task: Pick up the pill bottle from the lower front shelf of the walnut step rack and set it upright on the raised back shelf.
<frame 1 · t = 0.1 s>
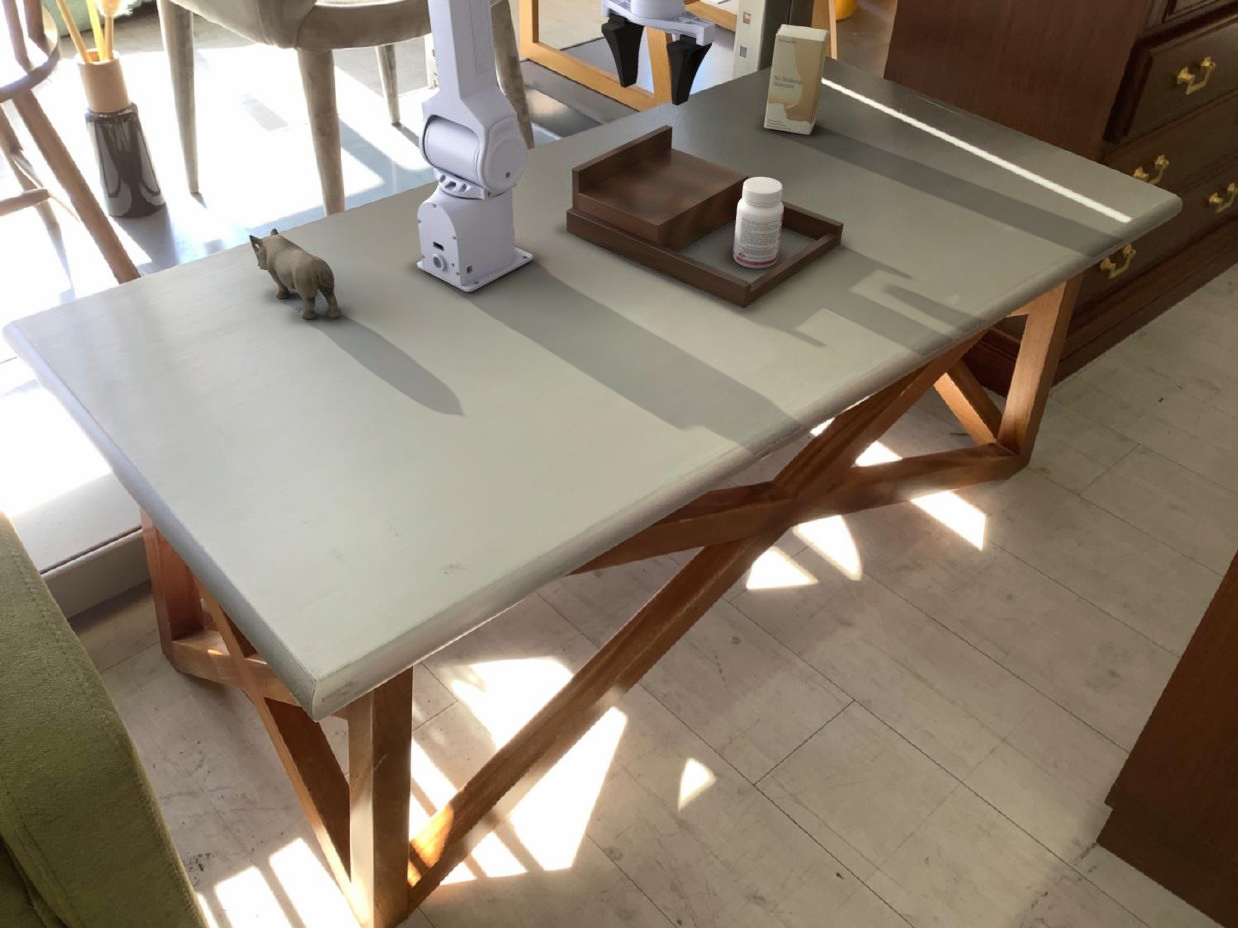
hand: (653, 93, 126), 10 cm above the table, tool pointing down, fingers open, 7 cm apart
pill bottle: (754, 260, 118), resting in step rack
rhino figurine: (295, 295, 111), on the table
step rack: (702, 237, 121), on the table
cosmetic box: (790, 128, 145), on the table
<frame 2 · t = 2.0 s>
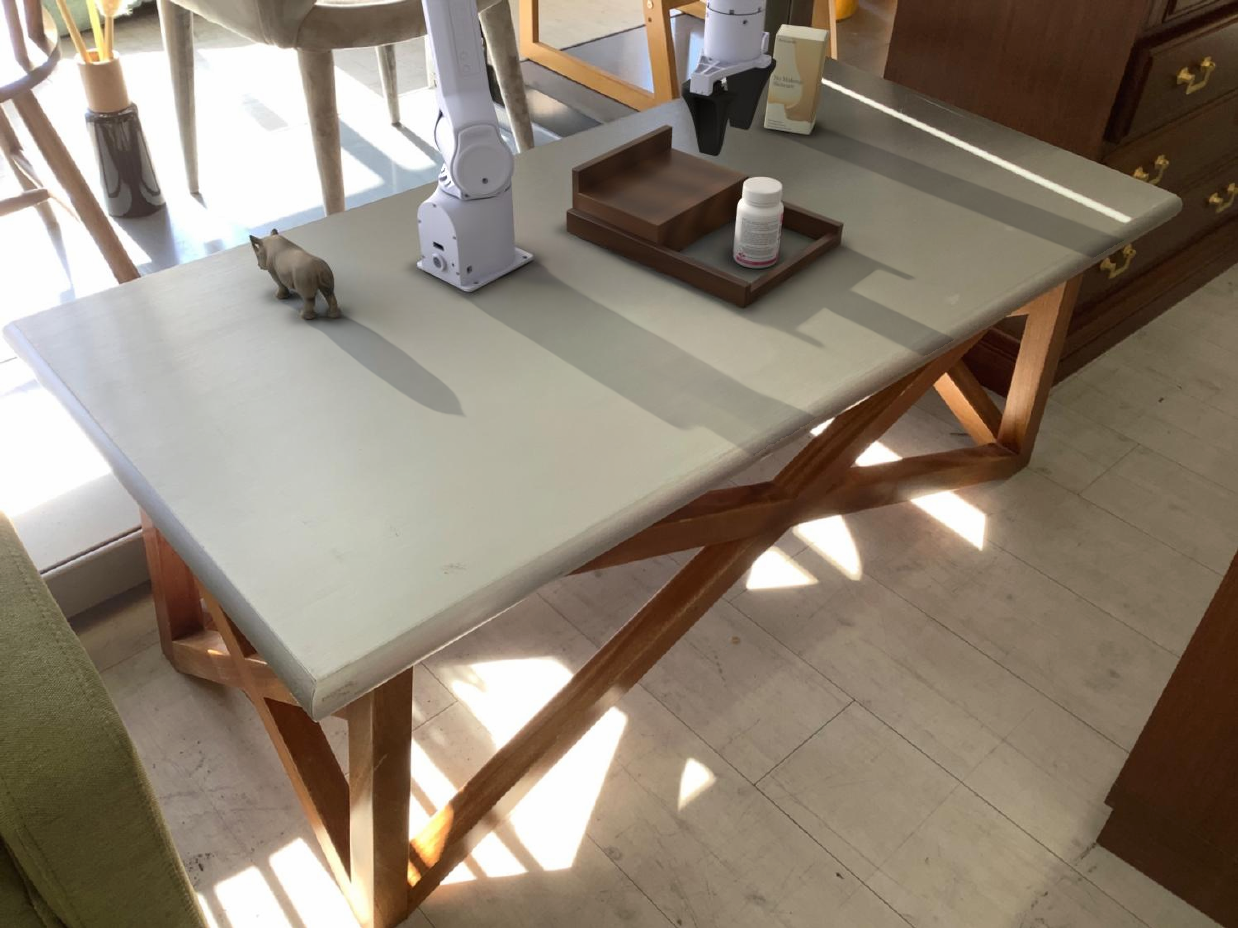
hand: (724, 140, 116), 10 cm above the table, tool pointing down, fingers open, 7 cm apart
nothing on the table moved.
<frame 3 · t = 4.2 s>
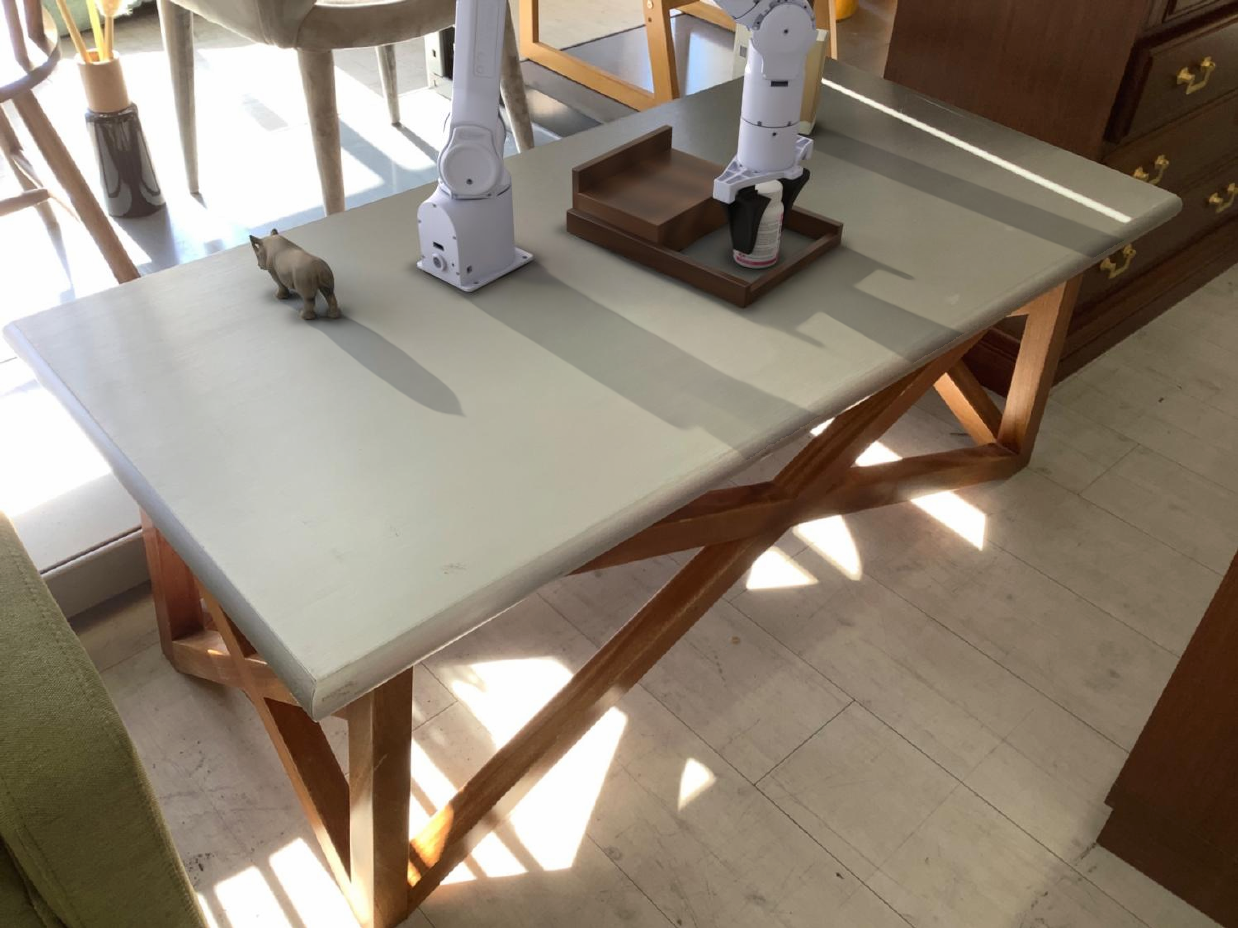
hand: (756, 242, 116), 2 cm above the table, tool pointing down, fingers closed on pill bottle, 5 cm apart
pill bottle: (754, 260, 118), resting in step rack, touching gripper
everything else where it was.
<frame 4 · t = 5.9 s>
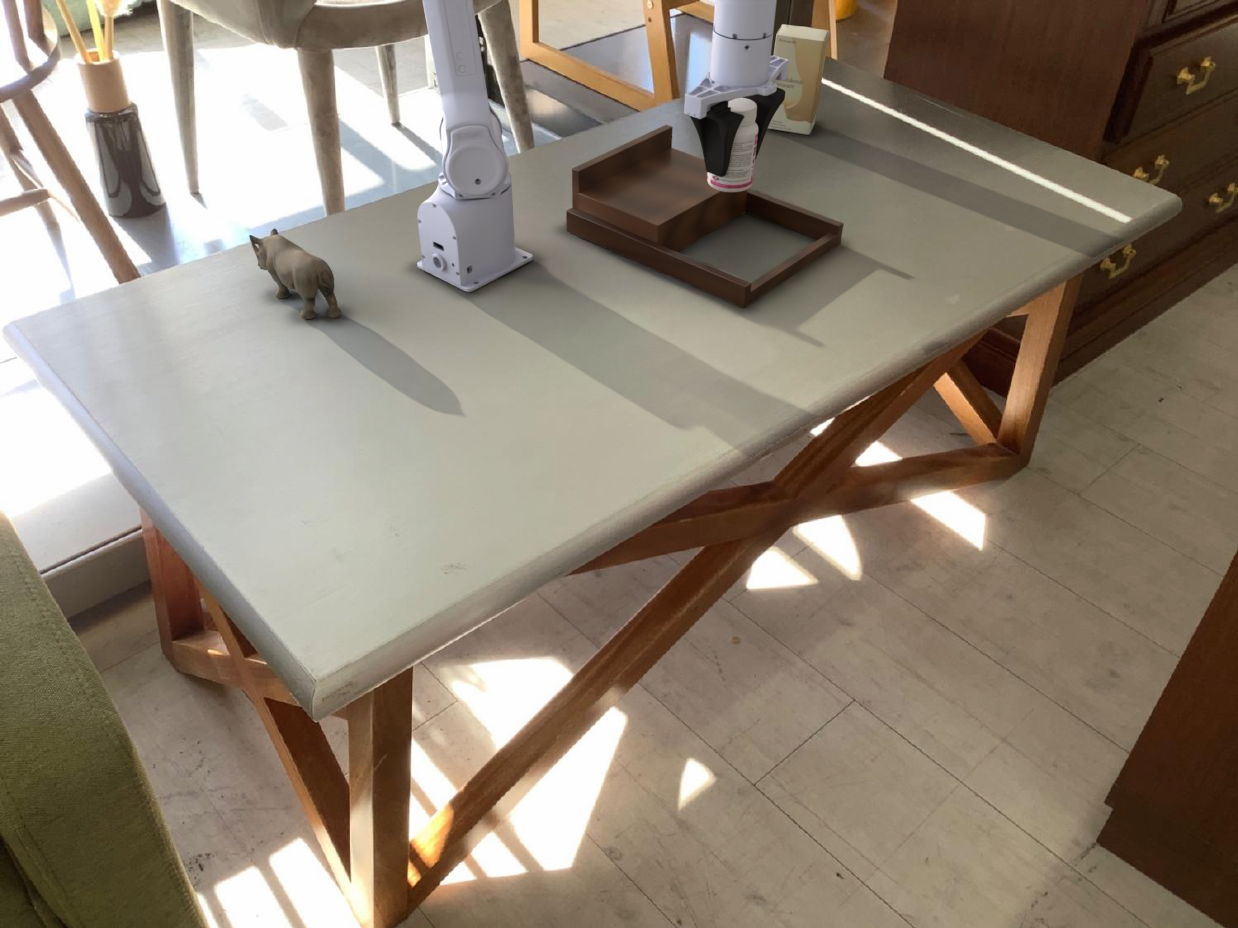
hand: (731, 165, 113), 9 cm above the table, tool pointing down, fingers closed on pill bottle, 5 cm apart
pill bottle: (729, 185, 115), point 7 cm above the table, touching gripper
everything else where it was.
when the fingers open (6 cm above the table, at t = 8.1 s): pill bottle stays where it is, resting on step rack.
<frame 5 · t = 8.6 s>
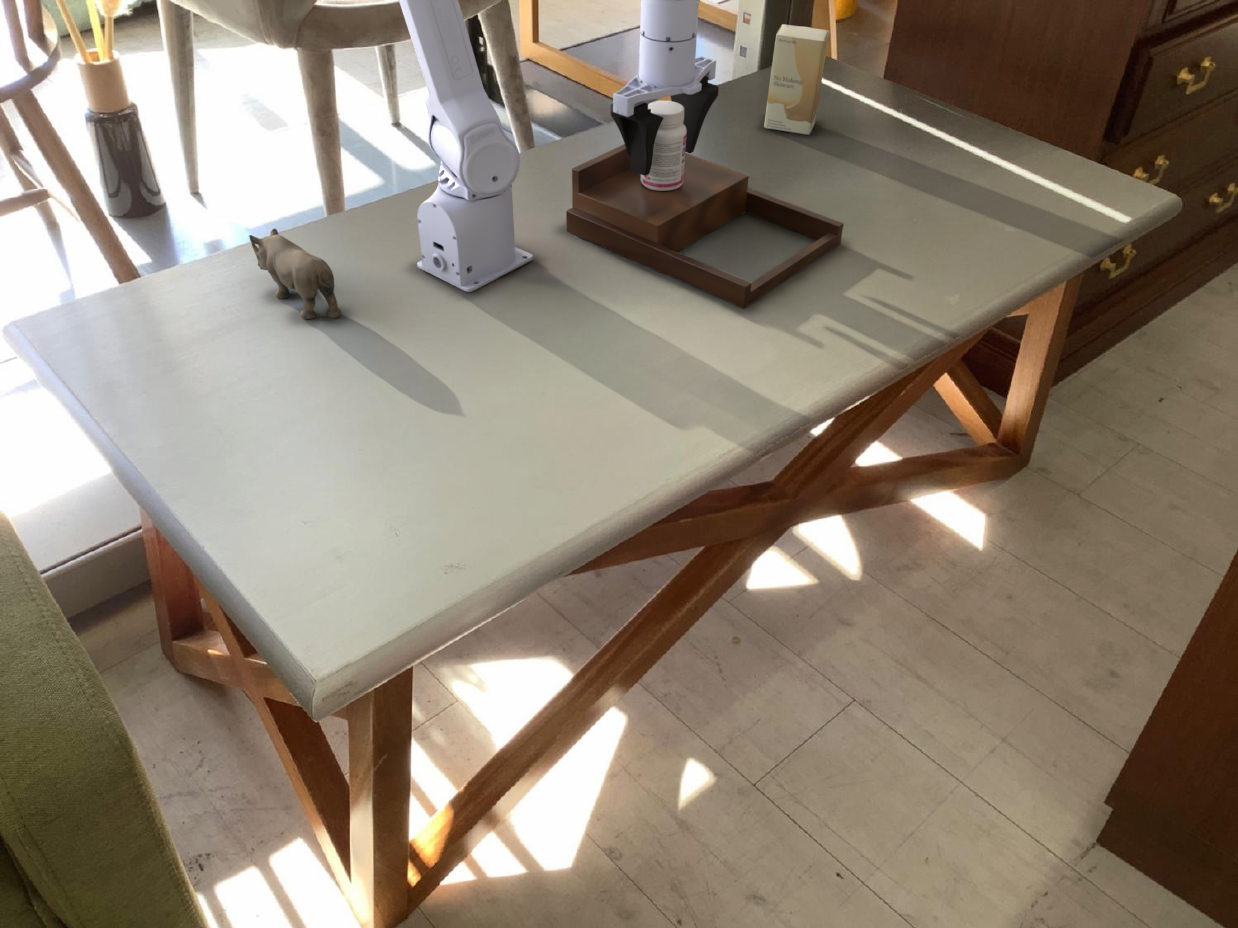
hand: (662, 161, 119), 7 cm above the table, tool pointing down, fingers open, 7 cm apart
pill bottle: (661, 184, 121), point 4 cm above the table, touching step rack
everything else where it was.
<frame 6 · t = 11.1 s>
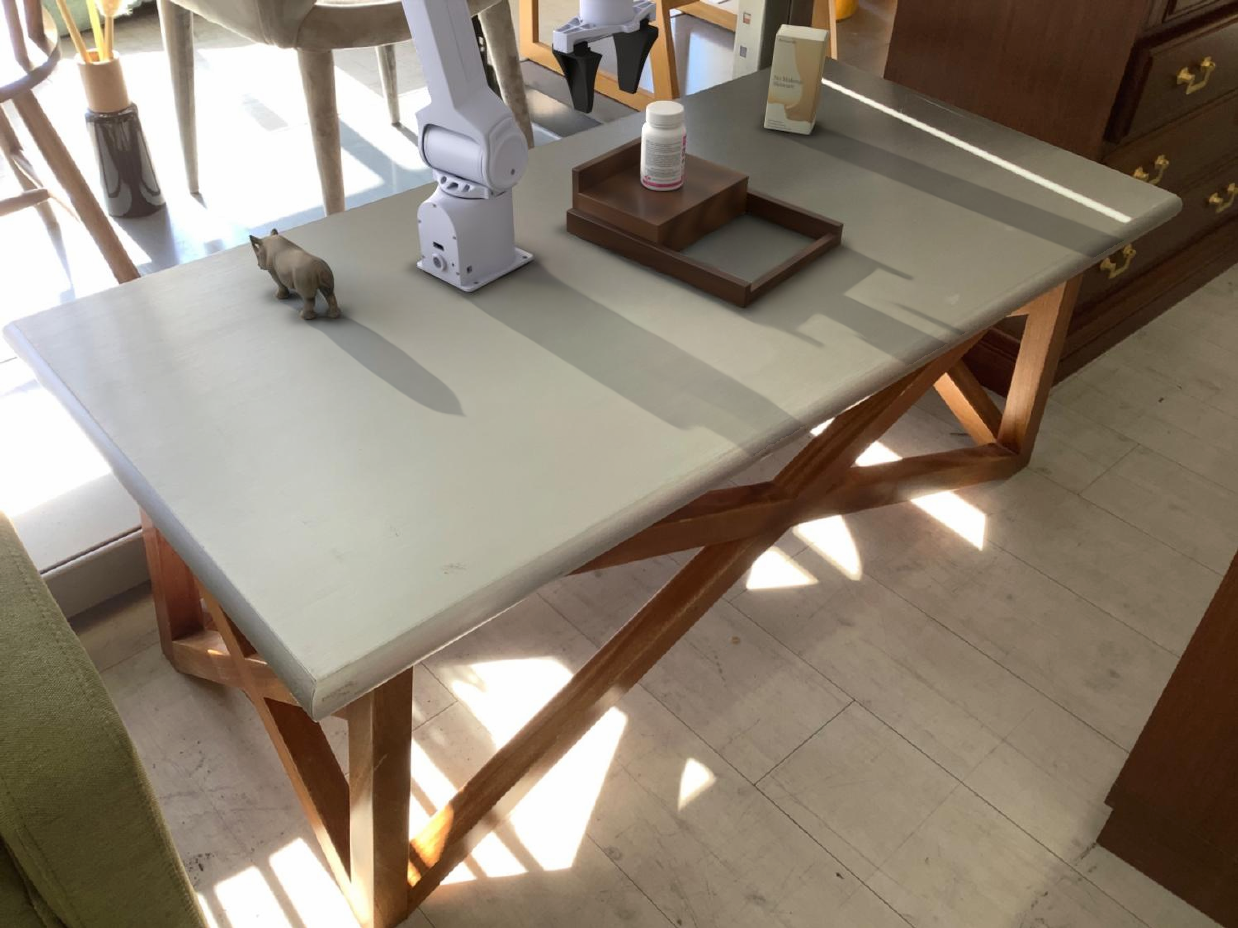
hand: (605, 101, 123), 10 cm above the table, tool pointing down, fingers open, 7 cm apart
nothing on the table moved.
at the end: pill bottle inside the target area on the step rack (0.0 cm from its centre), point 4.3 cm above the step rack's base; pill bottle tilted 0°; cosmetic box moved 0.2 cm from its start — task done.
